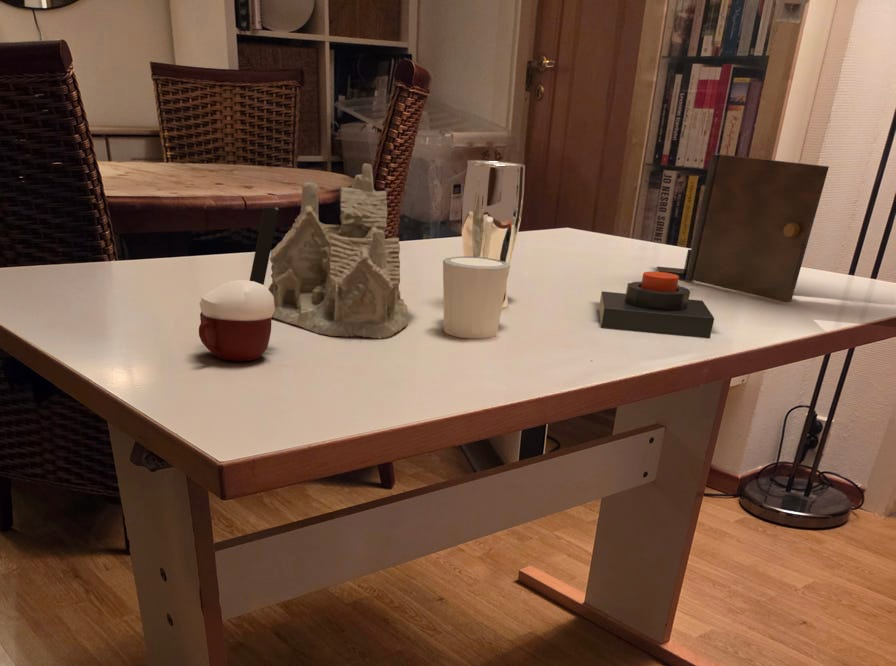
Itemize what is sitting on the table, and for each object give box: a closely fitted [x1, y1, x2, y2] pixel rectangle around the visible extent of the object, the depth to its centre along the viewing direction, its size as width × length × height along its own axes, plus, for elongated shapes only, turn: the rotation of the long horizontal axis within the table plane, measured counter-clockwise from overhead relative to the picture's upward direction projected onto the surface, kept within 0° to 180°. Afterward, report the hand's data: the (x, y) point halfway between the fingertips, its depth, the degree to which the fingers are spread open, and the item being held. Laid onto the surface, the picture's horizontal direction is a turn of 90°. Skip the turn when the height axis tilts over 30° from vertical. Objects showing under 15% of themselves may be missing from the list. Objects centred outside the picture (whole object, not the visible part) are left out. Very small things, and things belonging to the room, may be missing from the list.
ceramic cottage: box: [267, 163, 409, 340], centre depth 89 cm, size 16×16×15 cm
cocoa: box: [198, 205, 280, 362], centre depth 75 cm, size 10×6×12 cm, turn 126°
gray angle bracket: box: [655, 249, 693, 282], centre depth 128 cm, size 5×4×4 cm
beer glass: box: [460, 159, 526, 310], centre depth 100 cm, size 7×7×15 cm
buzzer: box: [598, 281, 715, 339], centre depth 99 cm, size 12×10×4 cm
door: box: [685, 153, 830, 304], centre depth 116 cm, size 18×2×16 cm, turn 35°
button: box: [641, 271, 680, 292], centre depth 98 cm, size 4×4×2 cm
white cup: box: [442, 255, 511, 339], centre depth 89 cm, size 7×7×7 cm
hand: (787, 22), depth 104 cm, fingers closed
